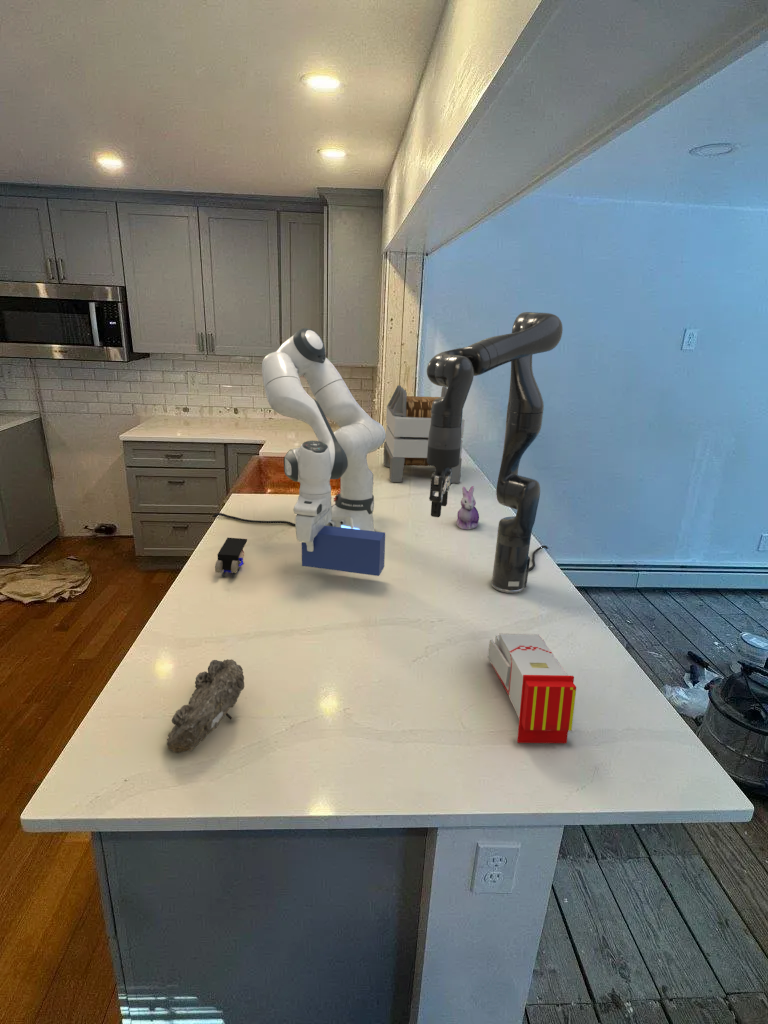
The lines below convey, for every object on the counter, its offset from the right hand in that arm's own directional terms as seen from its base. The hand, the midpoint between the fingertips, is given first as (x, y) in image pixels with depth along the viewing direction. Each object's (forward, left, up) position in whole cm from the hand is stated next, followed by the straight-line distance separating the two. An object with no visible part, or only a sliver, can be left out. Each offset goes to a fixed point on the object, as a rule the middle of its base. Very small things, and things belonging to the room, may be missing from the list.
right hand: (438, 510), depth 136 cm
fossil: (+59, +9, -30) cm, 66 cm away
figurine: (-52, -48, -30) cm, 77 cm away
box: (+9, -30, -26) cm, 41 cm away
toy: (+1, +34, -30) cm, 45 cm away
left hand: (+15, -36, -20) cm, 44 cm away
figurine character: (+35, -51, -30) cm, 68 cm away
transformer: (-77, -114, -30) cm, 141 cm away
